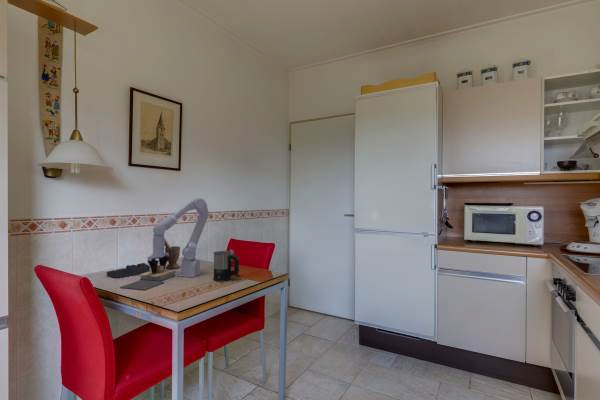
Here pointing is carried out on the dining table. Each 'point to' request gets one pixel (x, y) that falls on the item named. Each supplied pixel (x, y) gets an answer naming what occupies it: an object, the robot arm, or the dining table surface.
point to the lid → (158, 272)
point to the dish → (157, 277)
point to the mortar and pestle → (172, 255)
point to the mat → (142, 285)
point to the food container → (231, 254)
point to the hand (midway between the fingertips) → (158, 271)
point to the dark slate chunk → (129, 271)
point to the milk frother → (224, 265)
